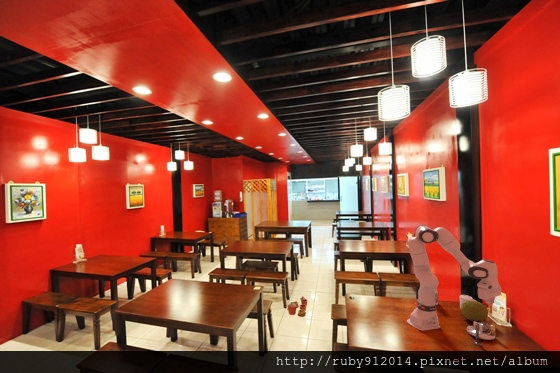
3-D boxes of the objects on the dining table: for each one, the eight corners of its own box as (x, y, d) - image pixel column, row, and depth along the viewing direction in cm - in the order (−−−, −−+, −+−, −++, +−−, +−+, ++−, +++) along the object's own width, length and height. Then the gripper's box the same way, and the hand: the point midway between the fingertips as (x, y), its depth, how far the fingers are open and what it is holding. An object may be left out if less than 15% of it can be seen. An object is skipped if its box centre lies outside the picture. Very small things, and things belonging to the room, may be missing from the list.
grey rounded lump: (486, 333, 166) (486, 326, 166) (477, 328, 172) (476, 321, 172) (492, 331, 168) (492, 324, 168) (482, 326, 174) (482, 319, 174)
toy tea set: (305, 318, 197) (305, 306, 197) (286, 316, 200) (286, 304, 200) (309, 303, 222) (309, 292, 222) (292, 302, 226) (292, 291, 226)
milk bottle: (425, 302, 217) (424, 279, 217) (433, 301, 218) (433, 278, 218) (431, 306, 210) (430, 282, 210) (440, 305, 210) (439, 282, 210)
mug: (476, 308, 204) (475, 296, 204) (480, 313, 196) (479, 300, 196) (458, 306, 208) (458, 294, 208) (462, 311, 200) (461, 298, 200)
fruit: (484, 318, 189) (484, 298, 189) (491, 327, 176) (490, 306, 176) (459, 314, 196) (458, 295, 196) (463, 323, 183) (463, 302, 183)
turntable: (486, 342, 158) (485, 331, 158) (461, 330, 172) (461, 319, 172) (500, 336, 164) (500, 325, 164) (475, 325, 178) (475, 315, 178)
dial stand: (479, 346, 156) (478, 325, 156) (471, 342, 160) (471, 322, 160) (483, 345, 158) (482, 324, 158) (475, 341, 162) (475, 321, 162)
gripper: (493, 279, 180) (494, 298, 180) (475, 284, 172) (476, 304, 172) (503, 282, 174) (504, 302, 174) (485, 287, 166) (486, 308, 166)
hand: (490, 303), depth 173 cm, fingers open, 3 cm apart
